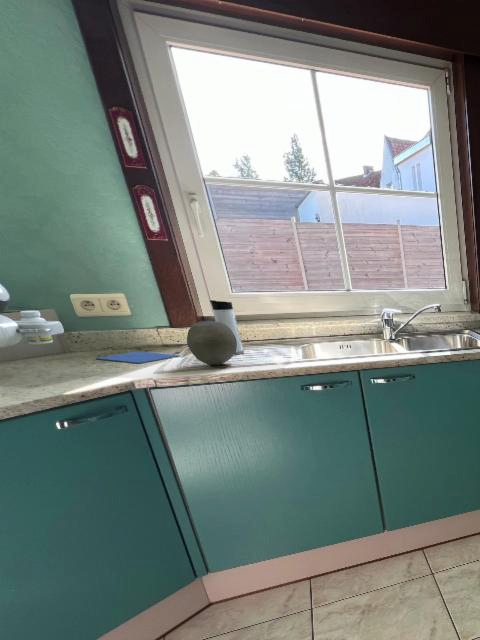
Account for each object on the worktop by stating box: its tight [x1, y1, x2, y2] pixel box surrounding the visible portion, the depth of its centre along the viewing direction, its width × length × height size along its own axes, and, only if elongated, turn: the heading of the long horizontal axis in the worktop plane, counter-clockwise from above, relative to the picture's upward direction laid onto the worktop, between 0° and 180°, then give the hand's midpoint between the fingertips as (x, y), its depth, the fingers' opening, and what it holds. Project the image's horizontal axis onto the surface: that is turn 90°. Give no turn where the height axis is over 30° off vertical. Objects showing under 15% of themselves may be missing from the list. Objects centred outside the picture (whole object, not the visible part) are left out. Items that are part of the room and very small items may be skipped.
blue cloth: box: [96, 351, 181, 365], centre depth 177 cm, size 20×14×1 cm
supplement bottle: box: [19, 310, 54, 345], centre depth 151 cm, size 5×5×10 cm
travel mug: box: [209, 299, 244, 356], centre depth 185 cm, size 6×7×20 cm
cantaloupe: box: [186, 320, 237, 366], centre depth 168 cm, size 14×14×15 cm
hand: (36, 324), depth 152 cm, fingers closed on supplement bottle, 5 cm apart
